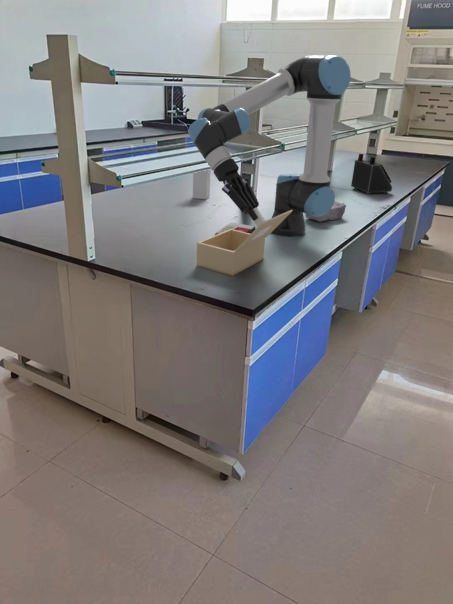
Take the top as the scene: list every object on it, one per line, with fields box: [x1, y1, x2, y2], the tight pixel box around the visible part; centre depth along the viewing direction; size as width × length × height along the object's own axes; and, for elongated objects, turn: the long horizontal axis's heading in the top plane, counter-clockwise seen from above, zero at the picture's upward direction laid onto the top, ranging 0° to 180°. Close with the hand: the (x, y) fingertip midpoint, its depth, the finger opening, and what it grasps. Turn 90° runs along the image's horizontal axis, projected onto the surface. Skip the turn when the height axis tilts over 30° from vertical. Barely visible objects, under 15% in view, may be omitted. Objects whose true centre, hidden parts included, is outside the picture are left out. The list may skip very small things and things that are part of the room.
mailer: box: [196, 229, 266, 277], centre depth 163 cm, size 20×14×8 cm
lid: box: [234, 210, 293, 253], centre depth 153 cm, size 20×14×1 cm
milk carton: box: [192, 169, 211, 200], centre depth 242 cm, size 7×7×19 cm
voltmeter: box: [350, 153, 393, 195], centre depth 276 cm, size 16×16×20 cm
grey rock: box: [304, 200, 347, 223], centre depth 220 cm, size 13×11×20 cm
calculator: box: [214, 222, 256, 236], centre depth 189 cm, size 11×4×15 cm
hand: (263, 227), depth 152 cm, fingers closed
